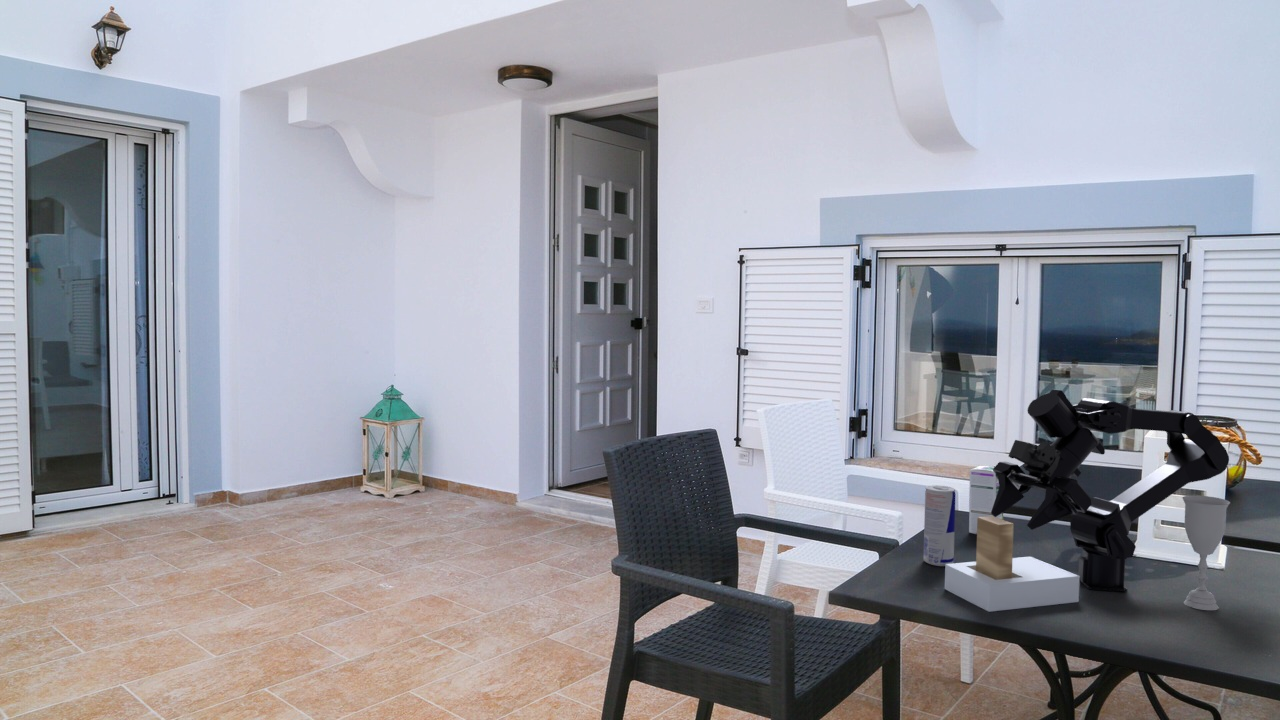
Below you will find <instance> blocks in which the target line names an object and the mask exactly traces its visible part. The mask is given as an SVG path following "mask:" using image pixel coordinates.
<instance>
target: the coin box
mask: <svg viewBox="0 0 1280 720" xmlns="http://www.w3.org/2000/svg"><path fill="white" fill-rule="evenodd" d="M944 567H945V568H944V590H946V591H948V592H949V593H952V594H954V595H955V596H957V597H959V598H961V599H963V600H965V601H967V602H968V603H971V604H972V605H975V606H977V607H978V608H981V609H983V610H984V611H986V612H988V613H989V612H997V611H998V612H999V611H1007V610H1016V609H1027V608H1033V607H1044V606H1052V605H1059V604H1060V605H1062V604H1071V603H1073V604H1074V603H1079V600H1080V598H1079V597H1080V580H1079V577H1080V576H1078V574H1076V573H1072V572H1070V571H1069V570H1065V569H1063V568H1061V567H1057V566H1055V565H1052V564H1050V563H1047V562H1044V561H1042V560H1040V559H1037V558H1035V557H1034V556H1023V557H1022V556H1021V557H1013V559H1012V578H1010V579H1000V580H995V579H993V578H990V577H988V576H986V575H984V574H982V573H979V572H977V571H976V560H975V561H966V562H956V563H955V562H954V563H953V564H945V566H944Z"/></svg>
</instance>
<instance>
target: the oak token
mask: <svg viewBox="0 0 1280 720" xmlns="http://www.w3.org/2000/svg"><path fill="white" fill-rule="evenodd" d="M1014 526H1015V525H1014V523H1013V522H1010V521H1008V520H1004V519H1003V520H1002V519H999V518H996V517H993V516H986V517H978V518H977V534H976V552H975V553H976V554H975V555H976V556H975V557H976V559H975V561H976V571H977V572H979V573H982V574H984V575H986V576H988V577H990V578H993V579H995V580H1000V579H1010V578H1012V559H1013V558H1014V557H1013V553H1014V552H1013V551H1014Z"/></svg>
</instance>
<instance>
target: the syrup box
mask: <svg viewBox="0 0 1280 720" xmlns="http://www.w3.org/2000/svg"><path fill="white" fill-rule="evenodd" d="M994 468H995V466H991V465H978V466H976V467H973V468H971V469H969V501H968V502H969V503H968V504H969V505H968V507H969V509H968V510H969V511H968V518H969V520H968V532H969V533H970V534H974V535H977V518H978V517H986V516H993V515H992V514H991V511H992V508H993V505H994V502H995V499H996V496H997V493H998V489H999V481H998V479H997V478H996V474H995V472H994V471H993V469H994ZM993 517H994V516H993ZM996 518H999V519H1002V520H1004V512H1003V513H1001V514H1000V515H998V516H997V517H996Z"/></svg>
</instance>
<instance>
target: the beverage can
mask: <svg viewBox="0 0 1280 720" xmlns="http://www.w3.org/2000/svg"><path fill="white" fill-rule="evenodd" d="M924 492H925V493H924V522H923V523H924V525H923V527H924V529H923V531H924V532H923V561H924V562H925V563H927V564H928V565H931V566H935V567H945V564H953V563H955V562H954V561H955V559H954V558H955V528H956V526H955V522H956V488H955V487H951V486H947V485H927V486H925V491H924Z"/></svg>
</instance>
